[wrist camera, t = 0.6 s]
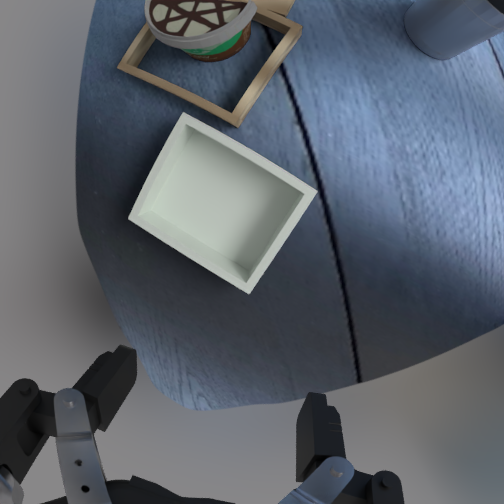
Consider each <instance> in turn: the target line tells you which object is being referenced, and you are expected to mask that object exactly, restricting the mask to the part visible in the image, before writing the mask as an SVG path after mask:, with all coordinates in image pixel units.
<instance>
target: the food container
mask: <svg viewBox="0 0 504 504" xmlns="http://www.w3.org/2000/svg"><path fill="white" fill-rule="evenodd" d="M256 10H257V6H256V4H255V3H254V1H251V0H249V1H248V3H246V2H234V1H224V0H146V1H145V18H146V21H147V24H148V26H149V28H150V30H151V32H152V33H153V35H154V36H155V37H156V38H157V39H158V40H160V41H161V42H162V43H165V44H167V45H169V46H172V47H175V48H180V49H182V50H183V51H184V52H186V53H187V54H188V55H190V56H191V57H192V58H194V59H197V60H199V61H204V62H217V61H221V60H225V59H227V58H229V57H231V56H233V55H235V54H236V53H238V52H239V51H240V50H241V49H242V48H243V47H244V46H245V45H246V43H247V41H248V40H249V37H250V35H251V19H252V18H253V16H254V15H255V13H256Z"/></svg>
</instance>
